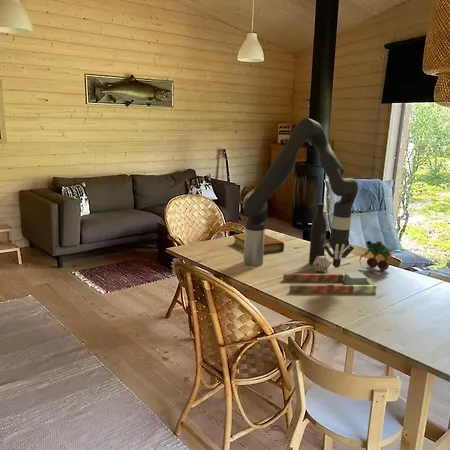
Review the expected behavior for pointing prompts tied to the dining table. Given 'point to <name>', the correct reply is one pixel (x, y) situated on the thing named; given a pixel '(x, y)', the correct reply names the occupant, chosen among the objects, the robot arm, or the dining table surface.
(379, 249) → the wheeled frog toy
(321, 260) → the game die
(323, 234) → the wine bottle
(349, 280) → the slate block
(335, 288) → the tray
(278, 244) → the diary
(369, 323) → the dining table surface
